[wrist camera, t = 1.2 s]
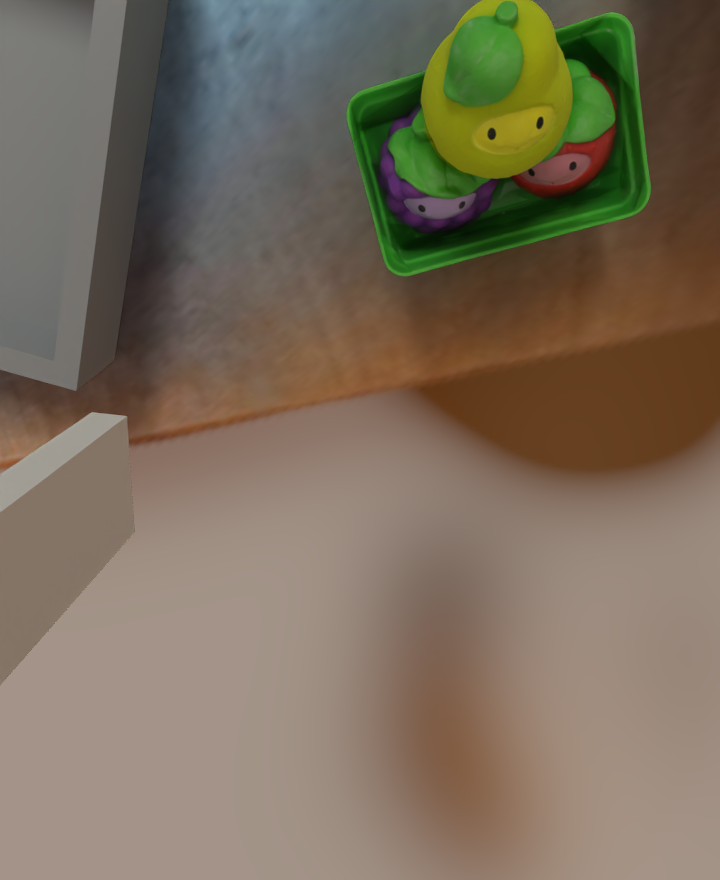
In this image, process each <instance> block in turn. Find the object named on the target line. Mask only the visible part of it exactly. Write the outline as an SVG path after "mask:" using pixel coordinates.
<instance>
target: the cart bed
mask: <svg viewBox="0 0 720 880" xmlns="http://www.w3.org/2000/svg"><path fill="white" fill-rule="evenodd" d="M168 3H169V0H0V370H3V371H6V372H10V373H14V374H17V375H21V376H24V377H28V378H31V379H35V380H38V381H42V382H46V383H49V384H53V385H56V386H60V387H63V388H67V389H70V390H74V391H77V390H78V389H80V388H81V387H82V386H83V385H84V384H86V383H87V382H88V381H89V380H91V379H92V378H93V377H94V376H96V375H97V374H98V373H99V372H101V371H102V370H103V369H104V368H105V367H107V366H108V365H109V364H110V363H112V362H113V361H114V360H115V354H116V347H117V341H118V334H119V327H120V321H121V314H122V308H123V301H124V294H125V288H126V281H127V275H128V268H129V261H130V255H131V248H132V241H133V235H134V228H135V222H136V215H137V208H138V202H139V195H140V189H141V182H142V175H143V169H144V162H145V155H146V149H147V142H148V136H149V129H150V122H151V116H152V109H153V103H154V96H155V89H156V83H157V76H158V69H159V63H160V56H161V50H162V43H163V36H164V30H165V23H166V17H167V10H168Z"/></svg>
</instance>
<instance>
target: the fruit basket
mask: <svg viewBox="0 0 720 880" xmlns="http://www.w3.org/2000/svg"><path fill="white" fill-rule="evenodd" d="M346 118H347V124H348V128H349V131H350V135H351V138H352V141H353V144H354V149H355V154H356V157H357V161H358V165H359V168H360V172H361V176H362V180H363V183H364V187H365V191H366V195H367V198H368V202H369V206H370V210H371V214H372V217H373V221H374V225H375V229H376V234H377V238H378V241H379V245H380V249H381V253H382V257H383V260H384V263H385V265H386V267H387V268H388V269H389V271H391V272H392V273H393V274H395V275H398V276H404V277H406V276H412V275H415V274H419V273H422V272H426V271H429V270H433V269H437V268H440V267H444V266H447V265H451V264H455V263H459V262H462V261H465V260H469V259H472V258H476V257H480V256H484V255H488V254H491V253H495V252H500V251H503V250H507V249H511V248H514V247H518V246H522V245H527V244H531V243H534V242H538V241H541V240H545V239H548V238H552V237H556V236H560V235H563V234H567V233H571V232H574V231H578V230H582V229H587V228H590V227H594V226H598V225H601V224H605V223H609V222H613V221H617V220H622V219H625V218H629V217H631V216H634V215H636V214H638V213H639V212H640V211H641V210H642V209H644V207H645V206H646V204H647V202H648V201H649V197H650V193H651V183H650V176H649V168H648V160H647V152H646V144H645V134H644V126H643V119H642V108H641V100H640V90H639V78H638V67H637V56H636V47H635V35H634V31H633V27H632V25H631V23H630V21H629V20H628V19H627V18H626V17H625V16H623V15H621V14H619V13H614V12H609V13H606V14H603V15H599V16H596V17H593V18H590V19H587V20H584V21H581V22H578V23H575V24H572V25H569V26H566V27H563V28H559V29H556V30H554V27H553V25H552V22H551V20H550V19H549V17H548V15H547V14H546V13H545V12H544V11H543V9H542V8H541V7H540V6H538V5H537V4H536V3H535V2H533V1H531V0H482V1H480V2H479V3H477V4H475V5H474V6H473V7H472V8H470V9H469V10H468V11H467V12H466V13H465V14H464V15H463V17H462V18H461V19H460V20H459V22H458V23H457V25H456V27H455V29H454V31H453V32H452V33H451V34H449V35H448V36H447V37H446V38H445V39H444V40H443V42H442V43H441V44H440V46H439V47H438V48H437V49H436V51H435V53H434V55H433V56H432V58H431V60H430V62H429V65H428V67H427V70H425V71H422V72H419V73H416V74H413V75H410V76H407V77H403V78H400V79H397V80H393V81H390V82H387V83H384V84H380V85H377V86H374V87H371V88H368V89H364V90H362V91H359V92H358V93H357V94H355V95H354V96H353V97H352V98H351V100H350V102H349V104H348V107H347V113H346Z"/></svg>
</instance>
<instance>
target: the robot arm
mask: <svg viewBox="0 0 720 880" xmlns="http://www.w3.org/2000/svg"><path fill="white" fill-rule="evenodd" d="M132 500H133V499H132V485H131V470H130V455H129V439H128V424H127V416H122V415H113V414H104V413H94V412H91V413H90V414H89V415H87V416H86V417H84V418H83V419H81V420H80V421H78V422H77V423H75V424H74V425H72V426H71V427H69V428H68V429H66V430H65V431H63V432H62V433H60V434H59V435H58V436H56V437H55V438H53V439H52V440H50V441H49V442H47V443H46V444H44V445H43V446H41V447H40V448H38V449H37V450H35V451H34V452H32V453H31V454H29V455H28V456H27V457H25V458H24V459H22V460H21V461H19V462H18V463H16V464H15V465H13V466H12V467H10V468H9V469H7V470H6V471H4V472H3V473H1V474H0V685H1V684H2V683H3V681H4V680H5V679H6V678H7V677H8V676H9V675H10V674H11V672H12V671H13V670H14V669H15V668H16V667H17V665H18V664H19V663H20V662H21V661H22V660H23V659H24V658H25V656H26V655H27V654H28V653H29V652H30V651H31V650H32V648H33V647H34V646H35V645H36V644H37V643H38V642H39V640H40V639H41V638H42V637H43V636H44V635H45V633H46V632H47V631H48V630H49V629H50V628H51V627H52V626H53V624H54V623H55V622H56V621H57V620H58V619H59V618H60V616H61V615H62V614H63V613H64V612H65V611H66V610H67V608H68V607H69V606H70V605H71V604H72V603H73V602H74V600H75V599H76V598H77V597H78V596H79V595H80V594H81V592H82V591H83V590H84V589H85V588H86V587H87V585H88V584H89V583H90V582H91V581H92V580H93V579H94V578H95V576H96V575H97V574H98V573H99V572H100V571H101V570H102V569H103V567H104V566H105V565H106V564H107V563H108V562H109V560H110V559H111V558H112V557H113V556H114V555H115V554H116V553H117V551H118V550H119V549H120V548H121V547H122V546H123V545H124V543H125V542H126V541H127V540H128V539H129V538H130V536H131V535H132V534H133V533H134V532H135V528H134V514H133V501H132Z"/></svg>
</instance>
